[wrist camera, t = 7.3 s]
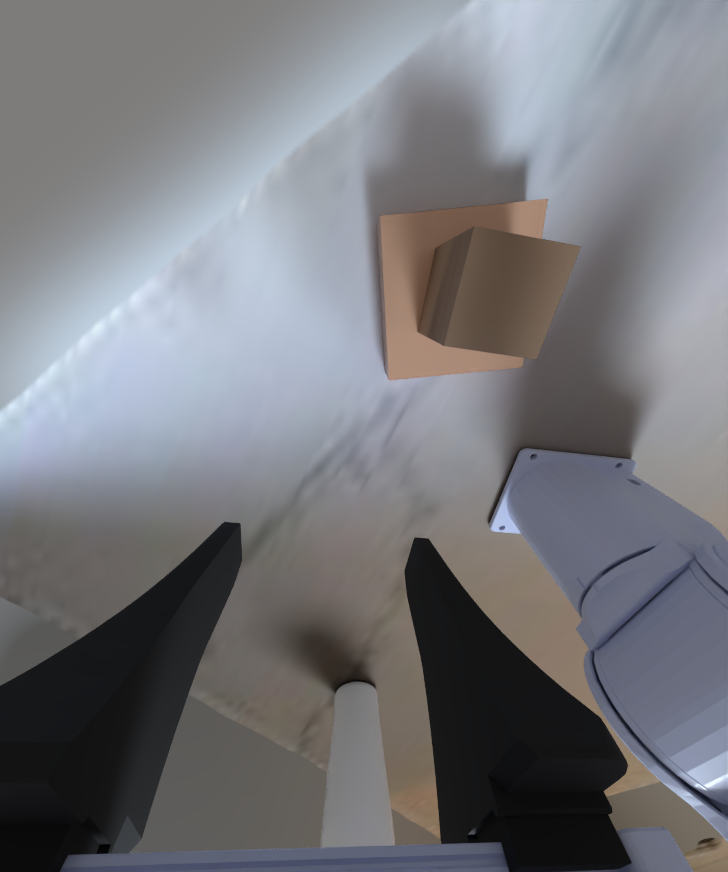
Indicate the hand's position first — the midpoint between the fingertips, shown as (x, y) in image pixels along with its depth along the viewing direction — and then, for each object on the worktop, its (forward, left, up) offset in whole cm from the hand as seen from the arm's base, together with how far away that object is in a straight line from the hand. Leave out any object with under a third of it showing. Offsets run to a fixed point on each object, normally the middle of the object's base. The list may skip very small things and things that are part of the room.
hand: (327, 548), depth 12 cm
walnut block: (-6, -10, -8) cm, 14 cm away
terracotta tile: (-6, -10, -10) cm, 16 cm away
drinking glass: (-6, +35, -10) cm, 37 cm away
